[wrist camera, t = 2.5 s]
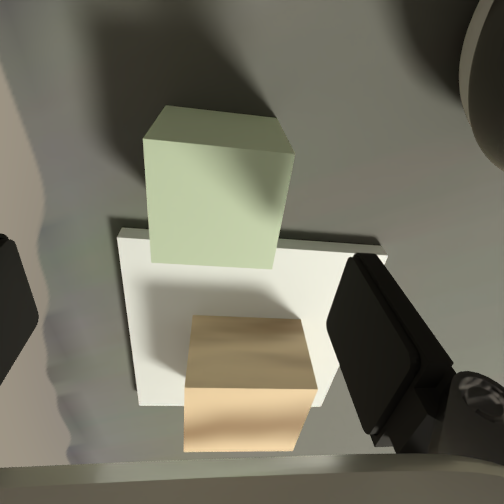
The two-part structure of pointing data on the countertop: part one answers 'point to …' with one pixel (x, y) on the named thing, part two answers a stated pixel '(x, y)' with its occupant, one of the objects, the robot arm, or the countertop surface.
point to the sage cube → (215, 187)
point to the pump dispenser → (485, 78)
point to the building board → (226, 305)
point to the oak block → (246, 384)
